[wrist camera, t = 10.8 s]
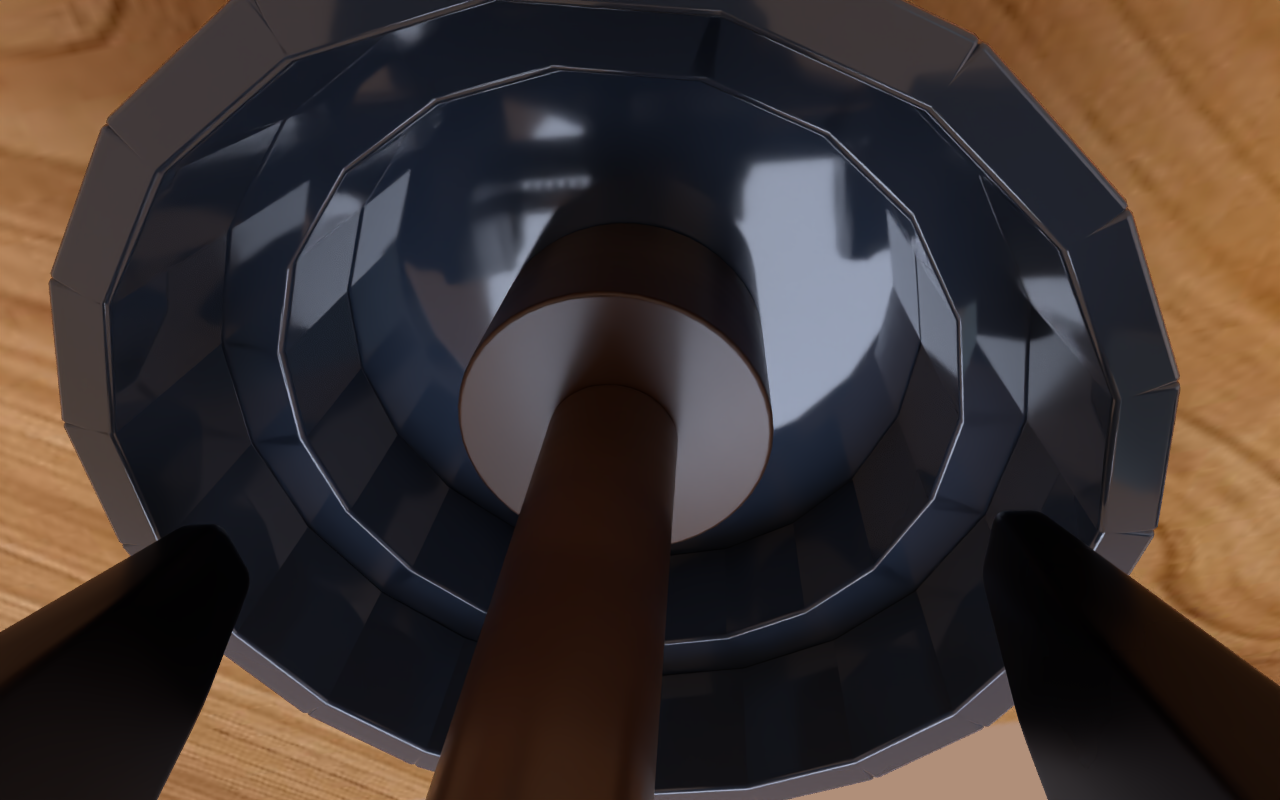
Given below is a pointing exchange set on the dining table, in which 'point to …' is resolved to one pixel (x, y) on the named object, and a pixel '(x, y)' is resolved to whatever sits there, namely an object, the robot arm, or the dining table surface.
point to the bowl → (484, 272)
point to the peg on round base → (598, 501)
